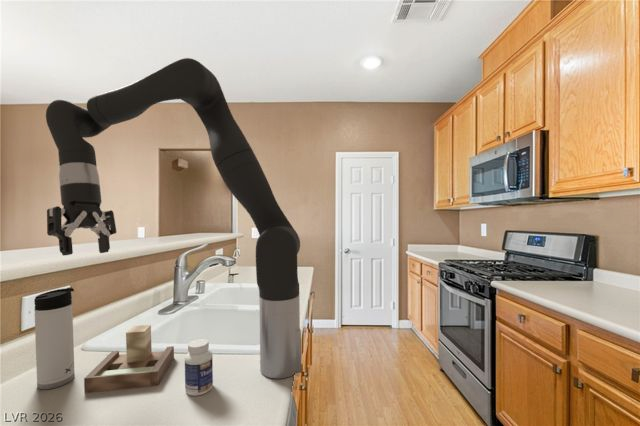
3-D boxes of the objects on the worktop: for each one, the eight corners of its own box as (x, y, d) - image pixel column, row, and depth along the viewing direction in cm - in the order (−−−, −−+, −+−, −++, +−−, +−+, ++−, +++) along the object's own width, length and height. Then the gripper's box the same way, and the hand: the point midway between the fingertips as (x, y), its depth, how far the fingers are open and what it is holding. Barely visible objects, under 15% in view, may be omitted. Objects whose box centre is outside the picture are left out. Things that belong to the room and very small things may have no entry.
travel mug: (79, 380, 69) (76, 290, 68) (39, 393, 64) (35, 296, 64) (73, 370, 73) (70, 285, 73) (35, 382, 68) (32, 291, 68)
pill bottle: (203, 398, 62) (202, 349, 62) (179, 395, 63) (178, 347, 63) (217, 383, 67) (217, 338, 67) (195, 380, 69) (194, 336, 68)
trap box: (174, 358, 79) (173, 346, 78) (157, 385, 67) (157, 371, 67) (112, 363, 76) (112, 351, 76) (84, 392, 64) (84, 378, 64)
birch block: (151, 352, 77) (150, 324, 77) (145, 360, 73) (144, 331, 73) (133, 354, 76) (133, 326, 76) (126, 362, 73) (125, 332, 72)
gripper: (59, 176, 66) (66, 253, 64) (119, 186, 80) (126, 249, 78) (34, 184, 68) (40, 258, 66) (97, 192, 82) (103, 254, 80)
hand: (87, 253), depth 72 cm, fingers open, 8 cm apart
